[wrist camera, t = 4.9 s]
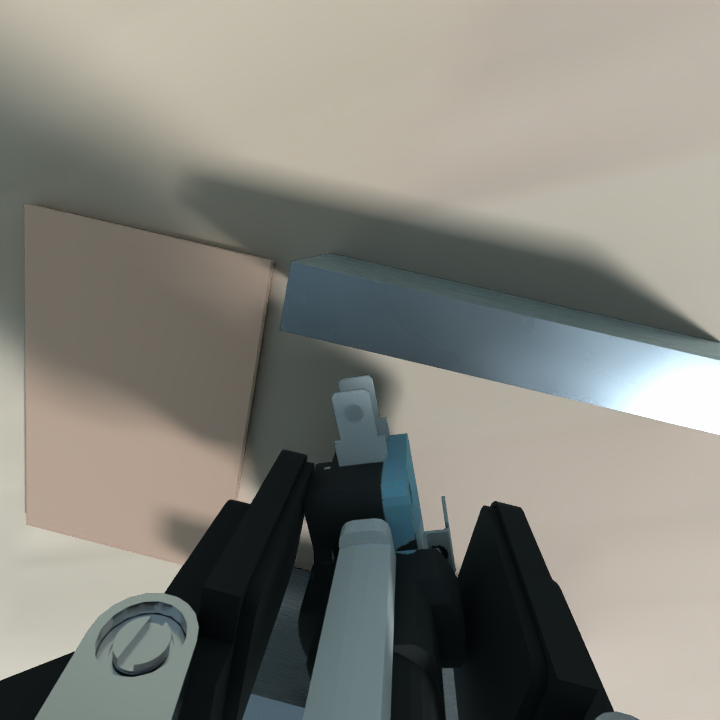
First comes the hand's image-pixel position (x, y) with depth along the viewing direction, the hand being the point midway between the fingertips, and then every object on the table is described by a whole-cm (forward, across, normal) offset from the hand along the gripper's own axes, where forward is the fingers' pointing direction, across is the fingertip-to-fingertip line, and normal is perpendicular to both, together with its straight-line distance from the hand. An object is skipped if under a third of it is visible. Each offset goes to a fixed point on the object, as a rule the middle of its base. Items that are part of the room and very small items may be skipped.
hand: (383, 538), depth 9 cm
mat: (+3, +8, 0) cm, 8 cm away
